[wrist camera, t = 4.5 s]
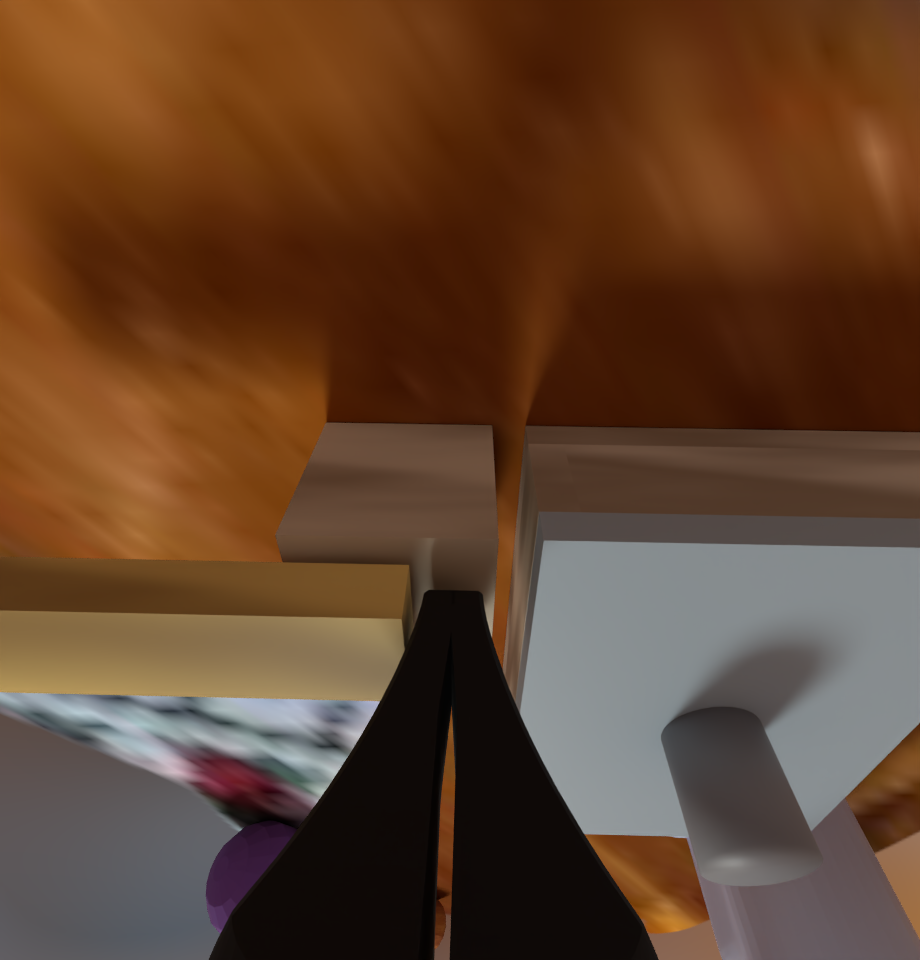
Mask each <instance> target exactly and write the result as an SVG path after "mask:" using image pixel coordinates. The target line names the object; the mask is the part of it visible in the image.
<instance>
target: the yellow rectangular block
mask: <svg viewBox="0 0 920 960" xmlns="http://www.w3.org/2000/svg"><path fill="white" fill-rule="evenodd" d="M413 629H414V626H413V612H412V598H411V584H410V571H409V565H388V564H338V563H289V562H239V561H189V560H139V559H89V558H39V557H0V692H15V693H58V694H100V695H142V696H185V697H227V698H270V699H312V700H355V701H381V699H382V697H383V695H384V693H385V691H386V689H387V687H388V685H389V683H390V681H391V679H392V677H393V675H394V673H395V671H396V669H397V667H398V664H399V662H400V660H401V657H402V655H403V653H404V651H405V648H406V646H407V644H408V641H409V639H410V636H411V634H412V631H413Z"/></svg>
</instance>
